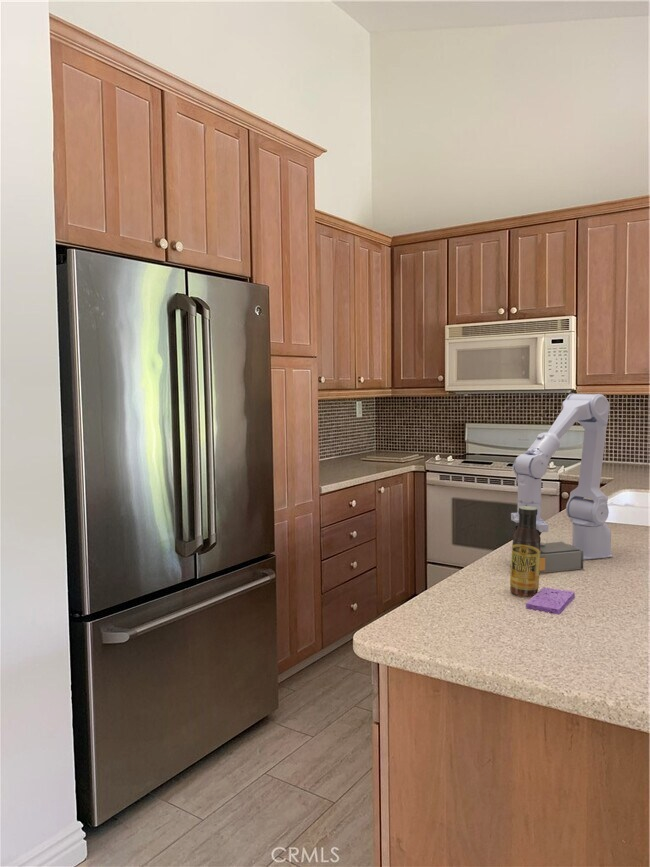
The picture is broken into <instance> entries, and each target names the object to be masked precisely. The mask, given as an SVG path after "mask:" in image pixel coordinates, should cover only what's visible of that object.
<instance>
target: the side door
mask: <svg viewBox="0 0 650 867" xmlns="http://www.w3.org/2000/svg"><path fill="white" fill-rule="evenodd" d="M583 554H584V551H574V552H563V553H552V554H540V568H539V574H540V573H541V574H542V573H550V572H559V571H572V570H582V569H583V570H584V560H583Z"/></svg>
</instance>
